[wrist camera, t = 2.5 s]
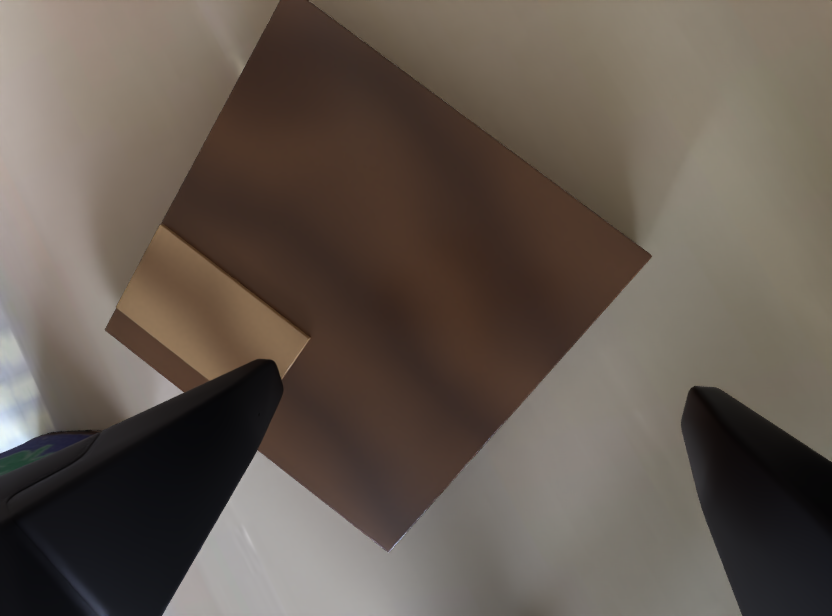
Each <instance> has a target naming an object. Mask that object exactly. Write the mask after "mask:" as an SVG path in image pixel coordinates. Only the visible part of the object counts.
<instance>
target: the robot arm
mask: <svg viewBox="0 0 832 616" xmlns="http://www.w3.org/2000/svg"><path fill="white" fill-rule="evenodd" d="M283 391H284V387H283V383H282V380H281V376H280V373H279V370H278V367H277V364H276V363H275V361H273V360H271V359H256V360H253V361H251V362H249V363H247V364H245V365H243V366H241V367H238V368H236V369H234V370H232V371H230V372H228V373H225V374H223V375H221V376H219V377H217V378H215V379H213V380H210V381H208V382H206V383H204V384H202V385H200V386H197V387H195V388H193V389H191V390H189V391H187V392H185V393H182V394H180V395H178V396H176V397H174V398H172V399H170V400H167V401H165V402H163V403H161V404H159V405H157V406H154V407H152V408H150V409H148V410H146V411H144V412H142V413H139V414H137V415H135V416H133V417H131V418H129V419H127V420H124V421H122V422H120V423H118V424H116V425H114V426H111V427H109V428H107V429H105V430H103V431H102V432H101V433H96V434H94V435H92V436H90V437H88V438H85V439H83V440H81V441H79V442H77V443H75V444H72V445H70V446H68V447H66V448H64V449H61V450H59V451H57V452H55V453H52V454H50V455H48V456H46V457H43V458H41V459H39V460H36V461H34V462H32V463H29V464H27V465H25V466H22V467H20V468H18V469H15V470H13V471H10V472H8V473H6V474H3V475H1V476H0V616H162V615H163V613H164V611H165V610H166V608H167V606H168V604H169V603H170V601H171V599H172V597H173V596H174V594H175V592H176V590H177V589H178V587H179V585H180V584H181V582H182V580H183V578H184V577H185V575H186V573H187V571H188V570H189V568H190V566H191V565H192V563H193V561H194V559H195V558H196V556H197V554H198V552H199V551H200V549H201V547H202V546H203V544H204V542H205V540H206V539H207V537H208V535H209V533H210V532H211V530H212V528H213V527H214V525H215V523H216V521H217V520H218V518H219V516H220V514H221V513H222V511H223V509H224V507H225V506H226V504H227V502H228V501H229V499H230V497H231V495H232V494H233V492H234V490H235V488H236V487H237V485H238V483H239V482H240V480H241V478H242V476H243V475H244V473H245V471H246V469H247V468H248V466H249V464H250V463H251V461H252V459H253V457H254V455H255V454H256V452H257V450H258V448H259V446H260V444H261V442H262V440H263V438H264V435H265V433H266V431H267V429H268V427H269V424H270V422H271V420H272V418H273V416H274V413H275V411H276V409H277V407H278V405H279V402H280V400H281V398H282V396H283ZM681 429H682V434H683V438H684V442H685V446H686V450H687V454H688V458H689V462H690V466H691V470H692V474H693V478H694V482H695V486H696V490H697V494H698V497H699V501H700V504H701V508H702V511H703V514H704V516H705V519H706V522H707V525H708V527H709V530H710V532H711V535H712V538H713V540H714V543H715V546H716V548H717V551H718V553H719V556H720V559H721V561H722V564H723V566H724V569H725V572H726V574H727V577H728V580H729V582H730V585H731V587H732V590H733V593H734V595H735V598H736V600H737V603H738V606H739V608H740V611H741V614H742V616H832V462H831V461H829V460H828V459H826V458H825V457H823V456H822V455H820V454H819V453H817V452H816V451H814V450H812V449H811V448H809V447H808V446H806V445H805V444H803V443H802V442H800V441H799V440H797V439H796V438H794V437H793V436H791V435H790V434H788V433H786V432H785V431H783V430H782V429H780V428H779V427H777V426H776V425H774V424H773V423H771V422H770V421H768V420H767V419H765V418H764V417H762V416H761V415H759V414H757V413H756V412H754V411H753V410H751V409H750V408H748V407H747V406H745V405H744V404H742V403H741V402H739V401H738V400H736V399H735V398H733V397H731V396H730V395H728V394H727V393H725V392H724V391H722V390H721V389H719V388H716V387H704V386H694V387H692V388H691V389H690V390H689V392H688V396H687V400H686V403H685V407H684V411H683V415H682V419H681Z"/></svg>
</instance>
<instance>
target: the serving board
mask: <svg viewBox="0 0 832 616" xmlns="http://www.w3.org/2000/svg"><path fill="white" fill-rule="evenodd" d="M651 257H652V255H651V254H650V253H648V252H647V251H645V250H644V249H643V248H641V247H640V246H639V245H637V244H636V243H635V242H633V241H632V240H631V239H629V238H628V237H627V236H625V235H624V234H623V233H621V232H620V231H618V230H617V229H616V228H614V227H613V226H612V225H610V224H609V223H608V222H606V221H605V220H604V219H602V218H601V217H600V216H598V215H597V214H596V213H594V212H593V211H591V210H590V209H589V208H587V207H586V206H585V205H583V204H582V203H581V202H579V201H578V200H577V199H575V198H574V197H573V196H571V195H570V194H569V193H567V192H566V191H564V190H563V189H562V188H560V187H559V186H558V185H556V184H555V183H554V182H552V181H551V180H550V179H548V178H547V177H546V176H544V175H543V174H542V173H540V172H539V171H538V170H536V169H535V168H533V167H532V166H531V165H529V164H528V163H527V162H525V161H524V160H523V159H521V158H520V157H519V156H517V155H516V154H515V153H513V152H512V151H511V150H509V149H508V148H506V147H505V146H504V145H502V144H501V143H500V142H498V141H497V140H496V139H494V138H493V137H492V136H490V135H489V134H488V133H486V132H485V131H484V130H482V129H481V128H479V127H478V126H477V125H475V124H474V123H473V122H471V121H470V120H469V119H467V118H466V117H465V116H463V115H462V114H461V113H459V112H458V111H457V110H455V109H454V108H453V107H451V106H450V105H448V104H447V103H446V102H444V101H443V100H442V99H440V98H439V97H438V96H436V95H435V94H434V93H432V92H431V91H430V90H428V89H427V88H426V87H424V86H423V85H421V84H420V83H419V82H417V81H416V80H415V79H413V78H412V77H411V76H409V75H408V74H407V73H405V72H404V71H403V70H401V69H400V68H399V67H397V66H396V65H394V64H393V63H392V62H390V61H389V60H388V59H386V58H385V57H384V56H382V55H381V54H380V53H378V52H377V51H376V50H374V49H373V48H372V47H370V46H369V45H368V44H366V43H365V42H363V41H362V40H361V39H359V38H358V37H357V36H355V35H354V34H353V33H351V32H350V31H349V30H347V29H346V28H345V27H343V26H342V25H341V24H339V23H338V22H336V21H335V20H334V19H332V18H331V17H330V16H328V15H327V14H326V13H324V12H323V11H322V10H320V9H319V8H318V7H316V6H315V5H314V4H312V3H311V2H309V1H308V0H280V2H279V4H278V5H277V7H276V9H275V11H274V13H273V15H272V17H271V19H270V20H269V22H268V24H267V26H266V28H265V30H264V32H263V34H262V35H261V37H260V39H259V41H258V43H257V45H256V47H255V49H254V50H253V52H252V54H251V56H250V58H249V60H248V62H247V64H246V65H245V67H244V69H243V71H242V73H241V75H240V77H239V79H238V80H237V82H236V84H235V86H234V88H233V90H232V92H231V94H230V95H229V97H228V99H227V101H226V103H225V105H224V107H223V109H222V111H221V112H220V114H219V116H218V118H217V120H216V122H215V124H214V126H213V127H212V129H211V131H210V133H209V135H208V137H207V139H206V141H205V142H204V144H203V146H202V148H201V150H200V152H199V154H198V156H197V157H196V159H195V161H194V163H193V165H192V167H191V169H190V171H189V172H188V174H187V176H186V178H185V180H184V182H183V184H182V186H181V187H180V189H179V191H178V193H177V195H176V197H175V199H174V201H173V202H172V204H171V206H170V208H169V210H168V212H167V214H166V216H165V217H164V219H163V221H162V223H161V224H160V225H159V227H158V229H157V231H156V233H155V235H154V236H153V238H152V240H151V242H150V244H149V246H148V248H147V250H146V251H145V253H144V255H143V257H142V259H141V261H140V263H139V265H138V266H137V268H136V270H135V272H134V274H133V276H132V278H131V280H130V282H129V283H128V285H127V287H126V289H125V291H124V293H123V295H122V297H121V298H120V300H119V302H118V304H117V306H116V309H115V311H114V313H113V315H112V317H111V319H110V321H109V323H108V324H107V326H106V328H105V331H107V332H108V333H109V334H110V335H112V336H113V337H114V338H116V339H117V340H118V341H119V342H121V343H122V344H123V345H124V346H126V347H127V348H128V349H130V350H131V351H132V352H133V353H135V354H136V355H137V356H138V357H140V358H141V359H142V360H144V361H145V362H146V363H147V364H149V365H150V366H151V367H152V368H154V369H155V370H156V371H158V372H159V373H160V374H161V375H163V376H164V377H165V378H166V379H168V380H169V381H170V382H172V383H173V384H174V385H175V386H177V387H178V388H179V389H180V390H182V391H183V392H184V393H185V392H187V391H189V390H191V389H193V388H195V387H197V386H200V385H202V384H204V383H206V382H208V381H210V380H213V379H215V378H217V377H219V376H221V375H223V374H225V373H228V372H230V371H232V370H234V369H236V368H238V367H241V366H243V365H245V364H247V363H249V362H251V361H253V360H256V359H271V360H273V361H275V363H276V364H277V367H278V370H279V373H280V376H281V380H282V383H283V387H284V391H283V396H282V398H281V400H280V402H279V405H278V407H277V409H276V411H275V413H274V416H273V418H272V420H271V422H270V424H269V427H268V429H267V431H266V433H265V435H264V438H263V440H262V442H261V444H260V446H259V448H258V451H259V452H261V453H262V454H263V455H264V456H266V457H267V458H268V459H270V460H271V461H272V462H273V463H275V464H276V465H277V466H278V467H280V468H281V469H282V470H284V471H285V472H286V473H287V474H289V475H290V476H291V477H292V478H294V479H295V480H296V481H298V482H299V483H300V484H301V485H303V486H304V487H305V488H306V489H308V490H309V491H310V492H312V493H313V494H314V495H315V496H317V497H318V498H319V499H320V500H322V501H323V502H324V503H326V504H327V505H328V506H329V507H331V508H332V509H333V510H334V511H336V512H337V513H338V514H340V515H341V516H342V517H343V518H345V519H346V520H347V521H348V522H350V523H351V524H352V525H354V526H355V527H356V528H357V529H359V530H360V531H361V532H362V533H364V534H365V535H366V536H368V537H369V538H370V539H371V540H373V541H374V542H375V543H376V544H378V545H379V546H380V547H382V548H383V549H384V550H385V551H387V552H388V553H389V552H390V551H391V550H392V549H393V547H394V546H395V545H396V544H397V543H398V542H399V541H400V540H401V538H402V537H403V536H404V535H405V534H406V533H407V532H408V531H409V529H410V528H411V527H412V526H413V525H414V524H415V523H416V522H417V520H418V519H419V518H420V517H421V516H422V515H423V514H424V513H425V511H426V510H427V509H428V508H429V507H430V506H431V505H432V504H433V502H434V501H435V500H436V499H437V498H438V497H439V496H440V495H441V493H442V492H443V491H444V490H445V489H446V488H447V487H448V486H449V484H450V483H451V482H452V481H453V480H454V479H455V478H456V477H457V475H458V474H459V473H460V472H461V471H462V470H463V469H464V468H465V466H466V465H467V464H468V463H469V462H470V461H471V460H472V459H473V457H474V456H475V455H476V454H477V453H478V452H479V451H480V450H481V449H482V447H483V446H484V445H485V444H486V443H487V442H488V441H489V440H490V438H491V437H492V436H493V435H494V434H495V433H496V432H497V431H498V429H499V428H500V427H501V426H502V425H503V424H504V423H505V422H506V420H507V419H508V418H509V417H510V416H511V415H512V414H513V413H514V411H515V410H516V409H517V408H518V407H519V406H520V405H521V404H522V402H523V401H524V400H525V399H526V398H527V397H528V396H529V395H530V393H531V392H532V391H533V390H534V389H535V388H536V387H537V386H538V384H539V383H540V382H541V381H542V380H543V379H544V378H545V377H546V375H547V374H548V373H549V372H550V371H551V370H552V369H553V368H554V366H555V365H556V364H557V363H558V362H559V361H560V360H561V359H562V357H563V356H564V355H565V354H566V353H567V352H568V351H569V350H570V348H571V347H572V346H573V345H574V344H575V343H576V342H577V341H578V339H579V338H580V337H581V336H582V335H583V334H584V333H585V332H586V330H587V329H588V328H589V327H590V326H591V325H592V324H593V323H594V322H595V320H596V319H597V318H598V317H599V316H600V315H601V314H602V313H603V311H604V310H605V309H606V308H607V307H608V306H609V305H610V304H611V302H612V301H613V300H614V299H615V298H616V297H617V296H618V295H619V293H620V292H621V291H622V290H623V289H624V288H625V287H626V286H627V284H628V283H629V282H630V281H631V280H632V279H633V278H634V277H635V275H636V274H637V273H638V272H639V271H640V270H641V269H642V268H643V266H644V265H645V264H646V263H647V262H648V261H649V260H650V259H651Z"/></svg>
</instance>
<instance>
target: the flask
mask: <svg viewBox="0 0 832 616" xmlns="http://www.w3.org/2000/svg"><path fill="white" fill-rule="evenodd" d="M101 432H102V431H99V430H97V431H92V430H86V431H67V432H64V431H63V432H62V431H61V432H51V433H47V434H45V435H41V436H39V437H36V438H33V439H31V440H29V441H27V442H26V443H24V444H22V445H20V446H17V447H15V448H13V449H10V450H8V451H6V452H3V453H1V454H0V476H1V475H3V474H6V473H8V472H10V471H13V470H15V469H18V468H20V467H22V466H25V465H27V464H29V463H32V462H34V461H36V460H39V459H41V458H43V457H46V456H48V455H50V454H52V453H55V452H57V451H59V450H61V449H64V448H66V447H68V446H70V445H72V444H75V443H77V442H79V441H81V440H83V439H85V438H88V437H90V436H92V435H94V434H96V433H101Z"/></svg>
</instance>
